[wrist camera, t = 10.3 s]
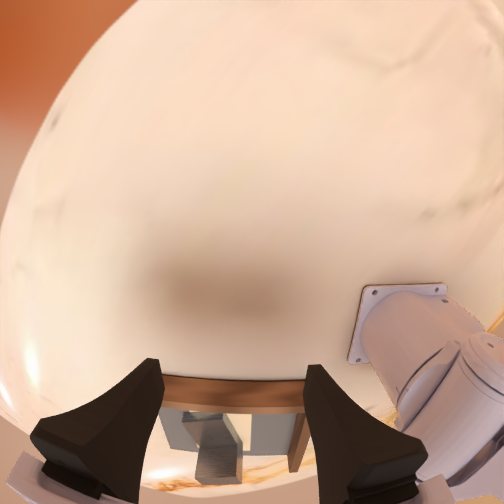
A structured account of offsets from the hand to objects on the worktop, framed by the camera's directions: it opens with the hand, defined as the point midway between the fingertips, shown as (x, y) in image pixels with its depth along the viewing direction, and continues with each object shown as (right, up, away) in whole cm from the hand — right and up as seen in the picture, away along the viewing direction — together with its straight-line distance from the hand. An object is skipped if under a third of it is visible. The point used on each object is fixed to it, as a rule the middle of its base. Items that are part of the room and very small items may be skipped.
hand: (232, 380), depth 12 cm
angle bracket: (-3, -14, +13) cm, 19 cm away
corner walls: (-1, -13, +13) cm, 19 cm away
